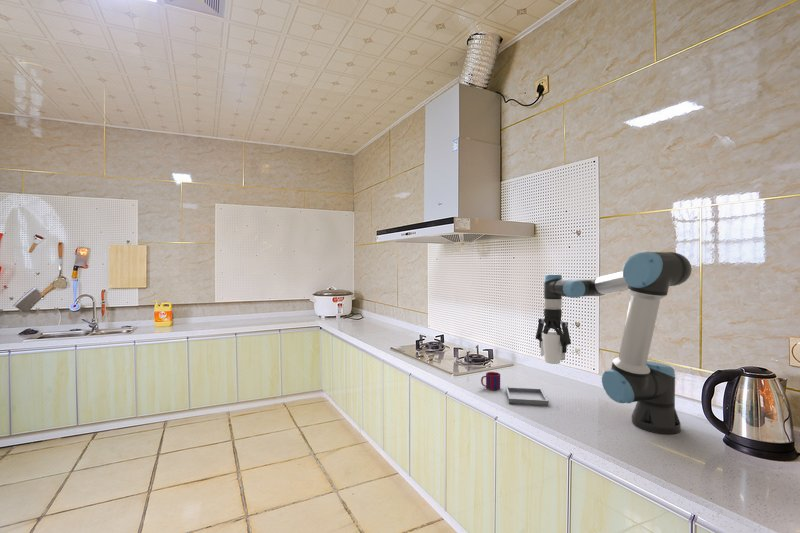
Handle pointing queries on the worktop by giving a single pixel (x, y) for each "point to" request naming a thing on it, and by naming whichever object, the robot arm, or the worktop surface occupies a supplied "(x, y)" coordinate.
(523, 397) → the tray
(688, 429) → the worktop surface
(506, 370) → the worktop surface
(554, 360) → the foam cup
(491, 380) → the cup
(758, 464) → the worktop surface
